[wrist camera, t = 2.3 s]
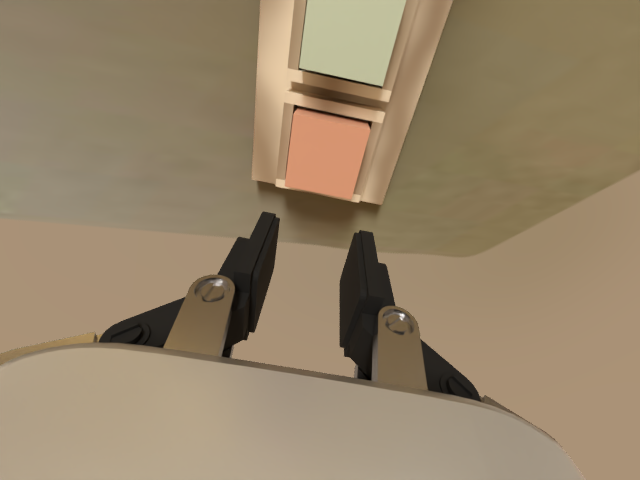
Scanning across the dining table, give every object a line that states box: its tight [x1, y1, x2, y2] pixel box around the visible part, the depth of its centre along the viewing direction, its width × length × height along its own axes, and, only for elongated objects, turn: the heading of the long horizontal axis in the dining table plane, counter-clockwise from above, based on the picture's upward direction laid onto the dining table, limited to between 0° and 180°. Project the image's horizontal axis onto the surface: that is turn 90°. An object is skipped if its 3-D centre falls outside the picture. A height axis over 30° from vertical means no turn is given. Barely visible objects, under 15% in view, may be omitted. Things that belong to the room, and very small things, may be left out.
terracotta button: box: [285, 107, 370, 199], centre depth 24 cm, size 6×6×3 cm
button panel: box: [252, 0, 453, 205], centre depth 21 cm, size 14×28×4 cm, turn 169°
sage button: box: [299, 0, 406, 86], centre depth 19 cm, size 6×6×3 cm
